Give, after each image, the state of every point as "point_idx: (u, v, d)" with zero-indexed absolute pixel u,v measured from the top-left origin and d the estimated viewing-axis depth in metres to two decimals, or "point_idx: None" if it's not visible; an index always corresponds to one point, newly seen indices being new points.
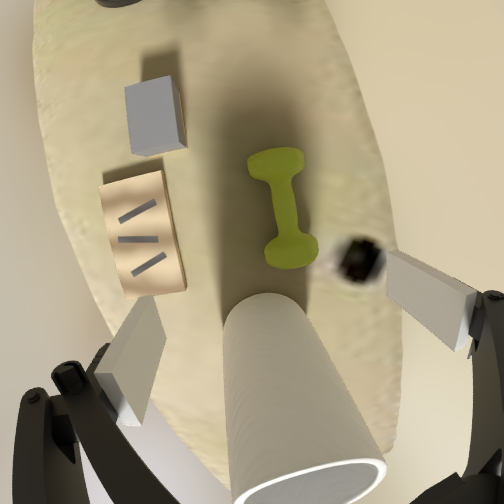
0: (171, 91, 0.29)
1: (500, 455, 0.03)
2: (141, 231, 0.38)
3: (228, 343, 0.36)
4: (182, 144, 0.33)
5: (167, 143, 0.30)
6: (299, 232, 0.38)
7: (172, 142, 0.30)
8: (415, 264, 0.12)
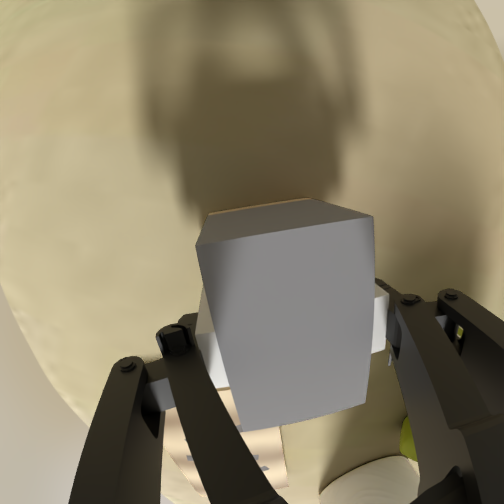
0: (371, 278, 0.10)
1: (458, 469, 0.03)
2: None
3: None
4: None
5: (338, 409, 0.11)
6: None
7: (350, 405, 0.11)
8: None
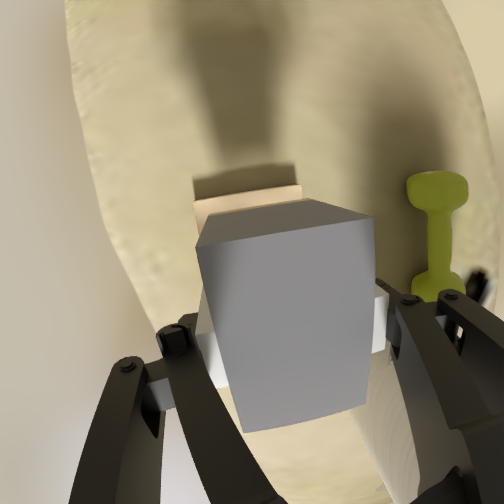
0: (371, 280, 0.10)
1: (458, 469, 0.03)
2: None
3: (378, 408, 0.25)
4: None
5: (338, 410, 0.11)
6: (450, 271, 0.27)
7: (350, 406, 0.11)
8: None
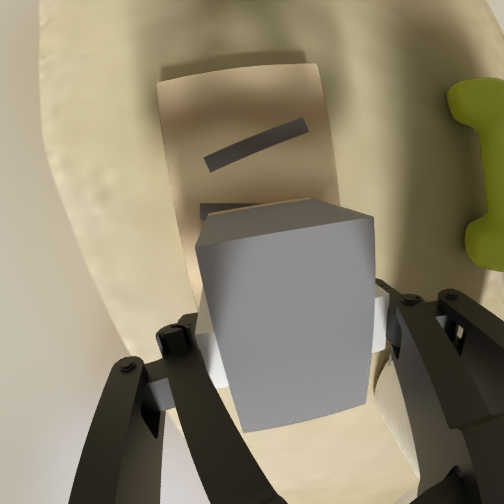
0: (372, 279, 0.10)
1: (458, 469, 0.03)
2: (266, 192, 0.16)
3: None
4: None
5: (339, 410, 0.11)
6: None
7: (350, 406, 0.11)
8: None
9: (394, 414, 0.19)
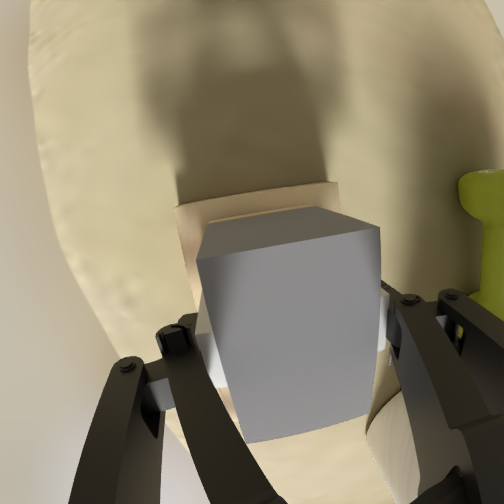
0: (377, 290, 0.09)
1: (458, 469, 0.03)
2: None
3: (415, 464, 0.16)
4: None
5: (342, 420, 0.11)
6: None
7: (354, 416, 0.11)
8: None
9: (380, 457, 0.21)
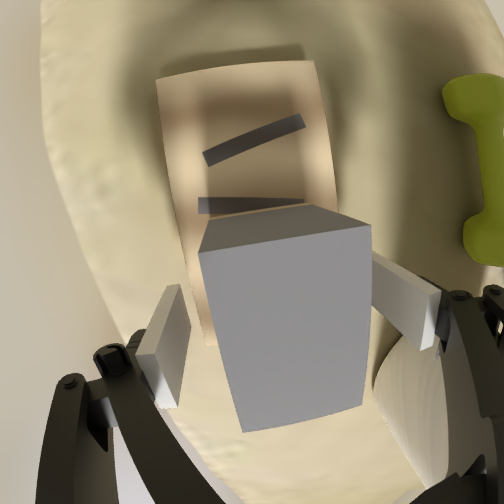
0: (368, 285, 0.10)
1: (483, 459, 0.03)
2: (263, 186, 0.16)
3: (439, 408, 0.14)
4: None
5: (335, 411, 0.12)
6: None
7: (347, 407, 0.12)
8: (384, 263, 0.13)
9: (393, 410, 0.19)
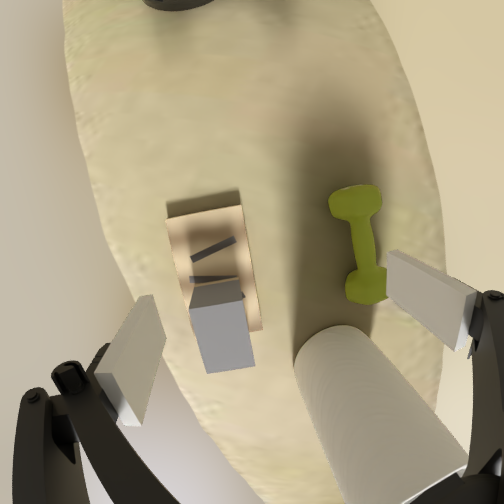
0: (245, 318, 0.31)
1: (500, 455, 0.03)
2: (218, 270, 0.37)
3: (314, 380, 0.35)
4: None
5: (243, 367, 0.32)
6: (377, 267, 0.37)
7: (248, 366, 0.32)
8: (415, 264, 0.12)
9: (299, 383, 0.39)
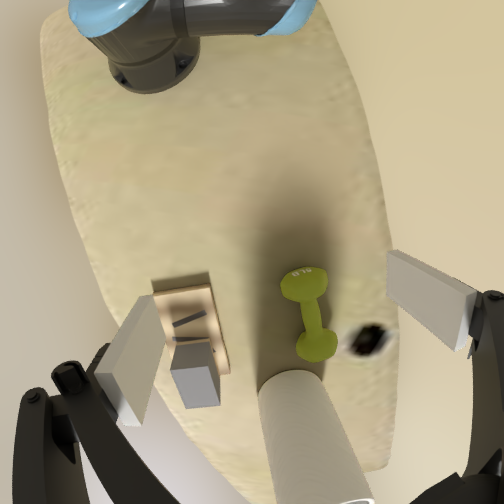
0: (210, 377, 0.40)
1: (500, 455, 0.03)
2: (193, 333, 0.46)
3: (267, 415, 0.44)
4: None
5: (212, 405, 0.42)
6: (323, 333, 0.46)
7: (215, 405, 0.42)
8: (415, 264, 0.12)
9: (259, 412, 0.49)
